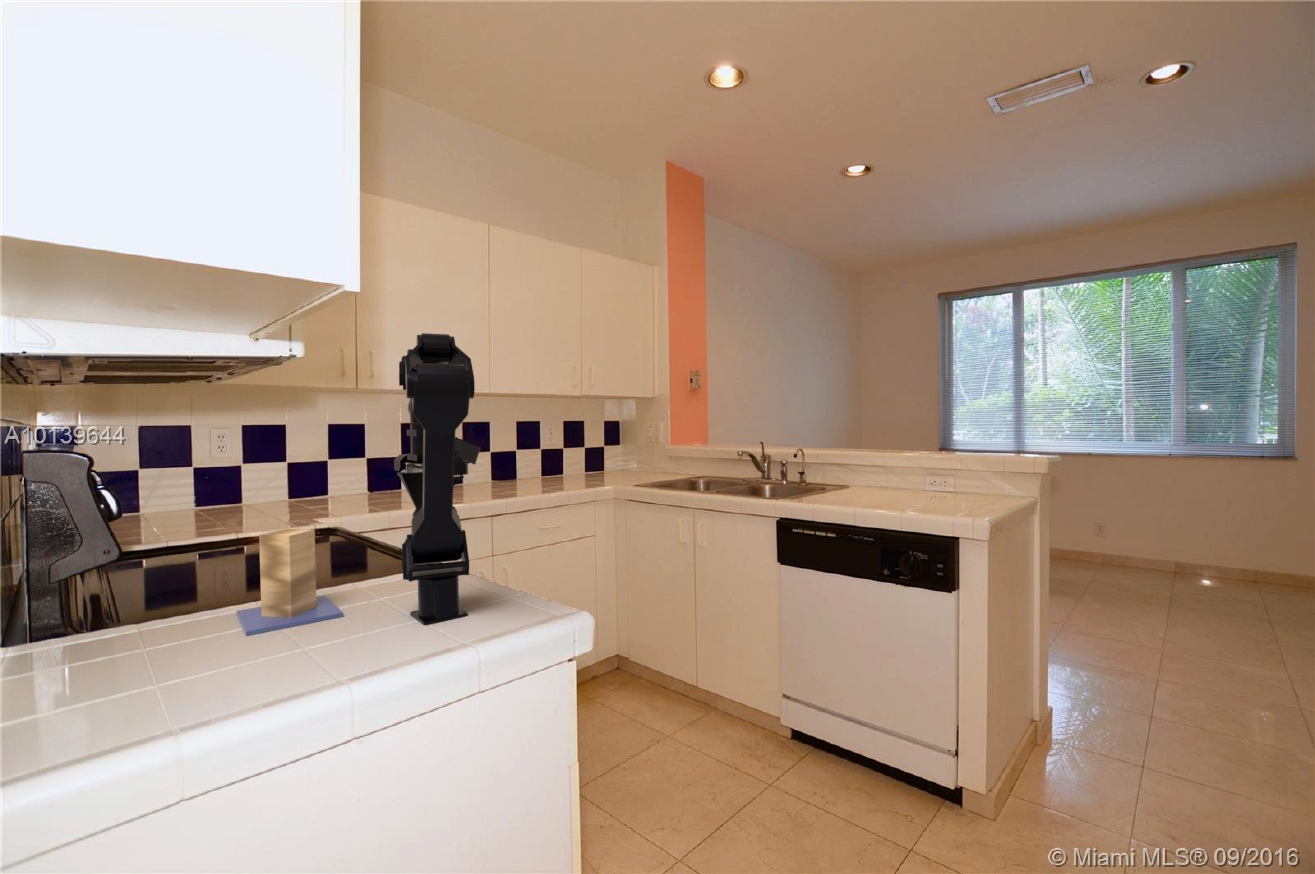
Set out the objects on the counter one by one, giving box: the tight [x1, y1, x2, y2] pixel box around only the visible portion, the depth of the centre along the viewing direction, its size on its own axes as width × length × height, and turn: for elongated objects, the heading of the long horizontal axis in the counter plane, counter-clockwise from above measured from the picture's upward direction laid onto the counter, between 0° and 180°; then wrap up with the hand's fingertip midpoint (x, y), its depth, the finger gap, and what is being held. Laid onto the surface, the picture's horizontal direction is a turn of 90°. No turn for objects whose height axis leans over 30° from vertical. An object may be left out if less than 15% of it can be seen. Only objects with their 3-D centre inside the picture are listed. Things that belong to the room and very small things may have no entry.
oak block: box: [258, 528, 317, 618], centre depth 90 cm, size 5×5×12 cm
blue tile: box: [236, 594, 344, 636], centre depth 90 cm, size 12×12×1 cm
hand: (430, 514), depth 102 cm, fingers open, 9 cm apart
